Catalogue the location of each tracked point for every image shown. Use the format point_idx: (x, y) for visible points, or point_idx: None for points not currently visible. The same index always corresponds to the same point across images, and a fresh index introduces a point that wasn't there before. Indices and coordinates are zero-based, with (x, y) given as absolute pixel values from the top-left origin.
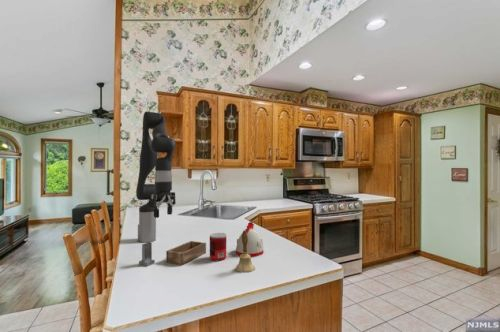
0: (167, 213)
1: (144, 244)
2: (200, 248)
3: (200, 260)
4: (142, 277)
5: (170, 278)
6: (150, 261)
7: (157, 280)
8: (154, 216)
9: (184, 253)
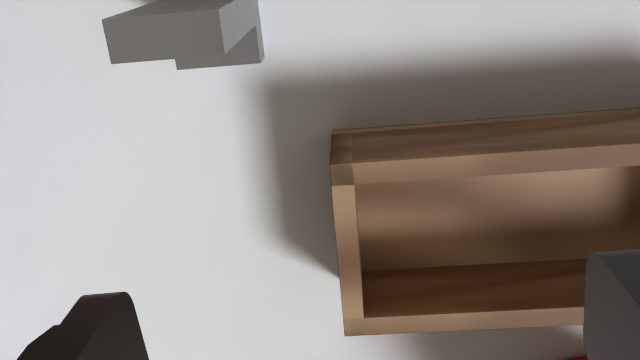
0: (597, 260)
1: (123, 41)
2: None
3: None
4: (44, 202)
5: None
6: (214, 62)
7: None
8: (82, 307)
9: (373, 331)
